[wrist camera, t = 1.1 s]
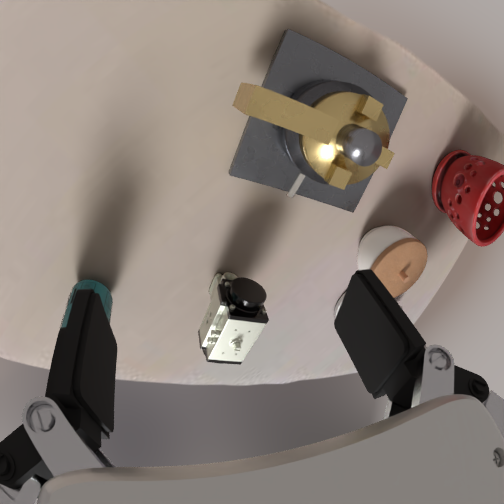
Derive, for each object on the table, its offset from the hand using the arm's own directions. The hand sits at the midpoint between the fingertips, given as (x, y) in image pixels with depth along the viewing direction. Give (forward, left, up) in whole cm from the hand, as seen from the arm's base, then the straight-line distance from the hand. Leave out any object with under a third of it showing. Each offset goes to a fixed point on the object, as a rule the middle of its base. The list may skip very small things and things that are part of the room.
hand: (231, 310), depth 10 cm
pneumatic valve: (-9, +19, -25) cm, 32 cm away
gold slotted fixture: (-10, -6, -20) cm, 24 cm away
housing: (-14, -6, -25) cm, 29 cm away
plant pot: (-40, -9, -25) cm, 48 cm away
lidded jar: (-31, +7, -25) cm, 40 cm away
